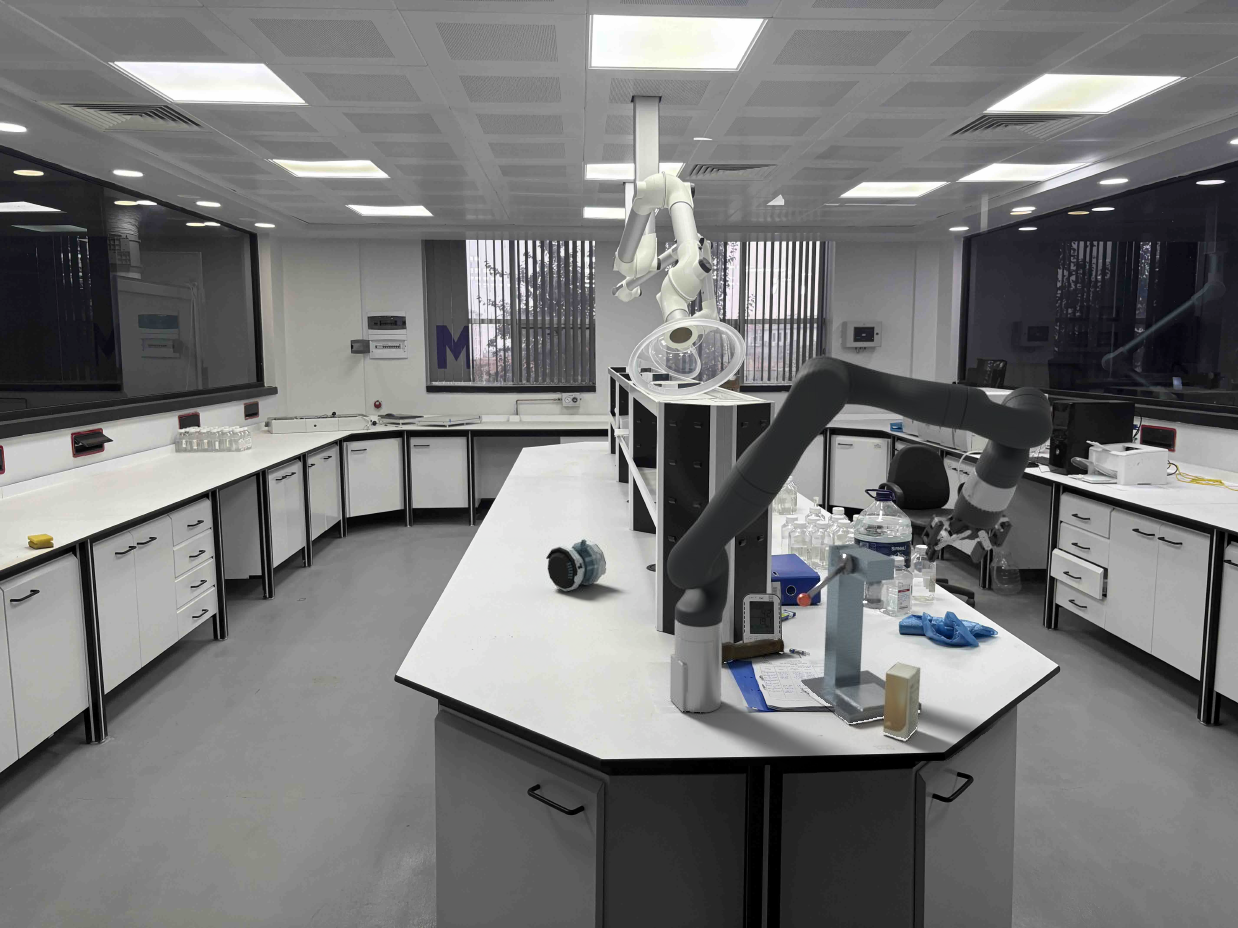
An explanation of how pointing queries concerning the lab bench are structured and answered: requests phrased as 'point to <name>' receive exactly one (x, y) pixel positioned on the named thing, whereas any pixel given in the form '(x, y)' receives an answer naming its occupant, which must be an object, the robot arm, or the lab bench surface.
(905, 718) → the skincare box
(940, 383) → the robot arm
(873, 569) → the arbor press
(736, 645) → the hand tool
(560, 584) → the gadget
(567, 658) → the lab bench surface
